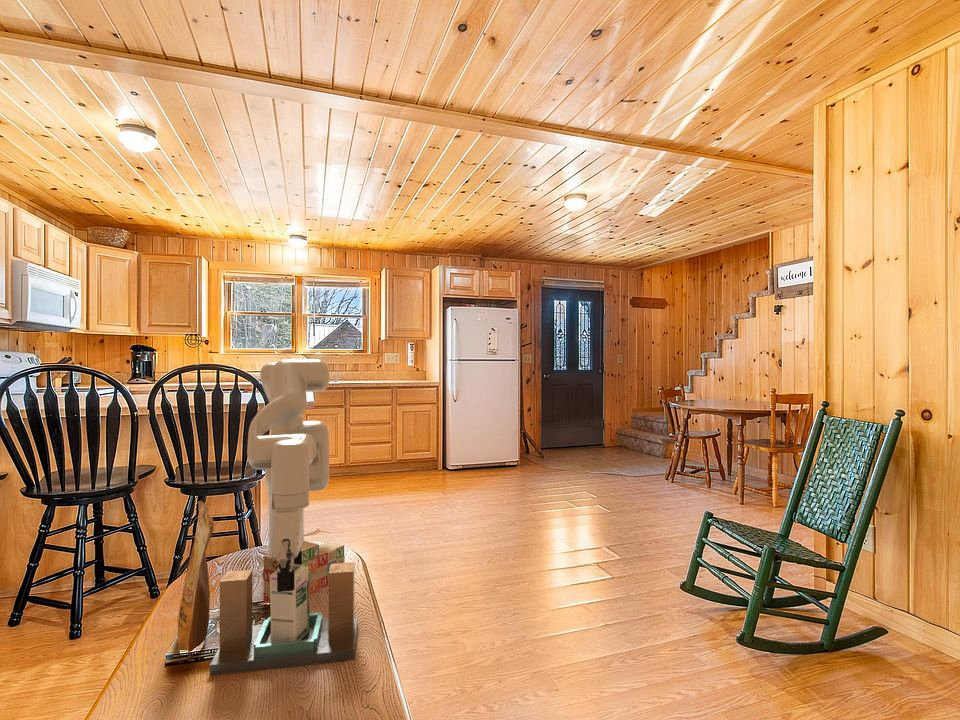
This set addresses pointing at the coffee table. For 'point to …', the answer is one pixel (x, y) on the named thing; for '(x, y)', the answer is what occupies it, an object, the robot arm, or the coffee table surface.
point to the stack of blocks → (309, 565)
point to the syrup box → (290, 607)
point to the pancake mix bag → (196, 588)
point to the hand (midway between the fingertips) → (290, 579)
